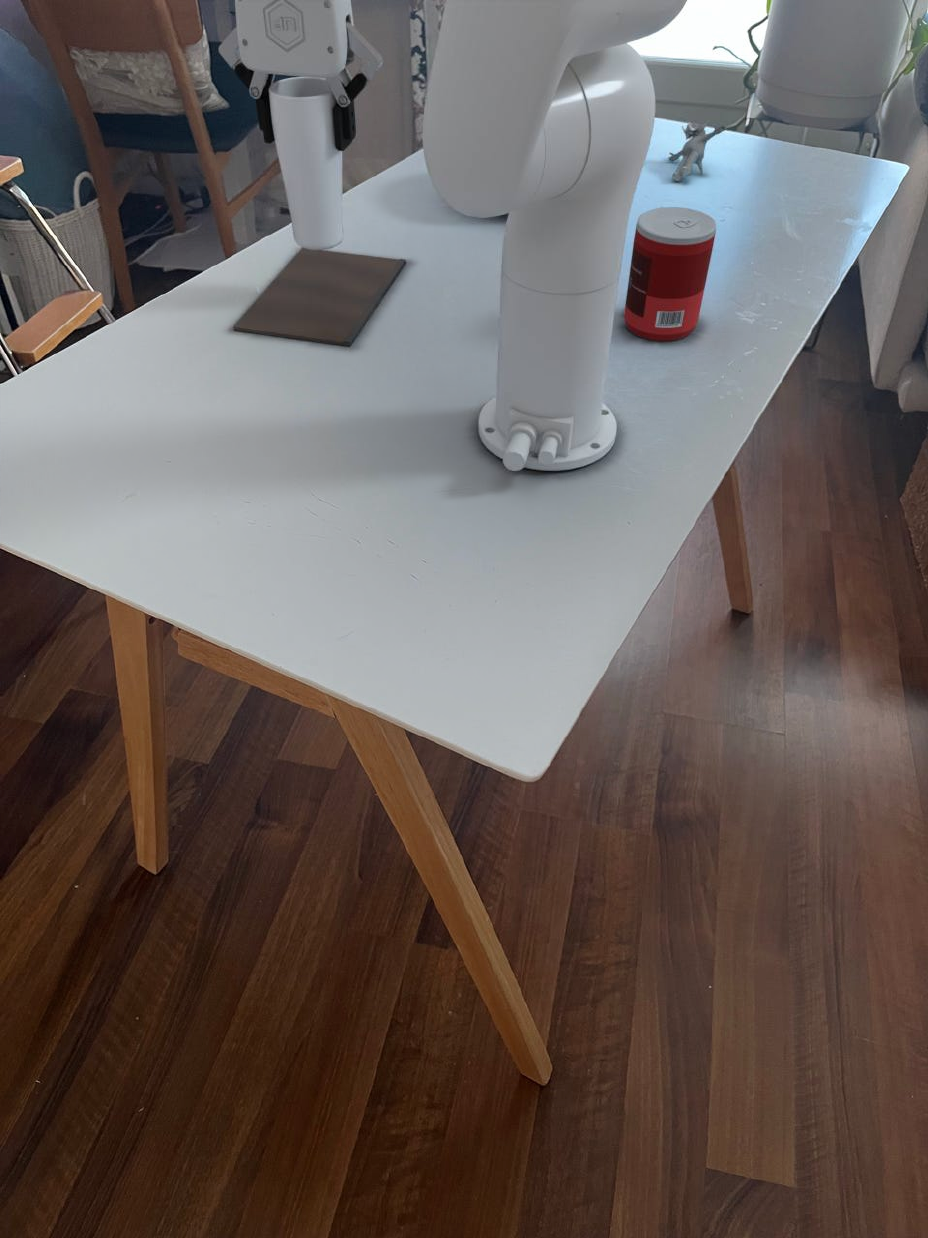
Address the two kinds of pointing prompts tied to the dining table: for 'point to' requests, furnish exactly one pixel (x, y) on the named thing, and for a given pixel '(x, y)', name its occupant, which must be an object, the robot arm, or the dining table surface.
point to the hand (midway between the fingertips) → (308, 140)
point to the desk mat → (322, 297)
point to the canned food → (668, 272)
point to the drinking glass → (309, 159)
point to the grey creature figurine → (693, 148)
